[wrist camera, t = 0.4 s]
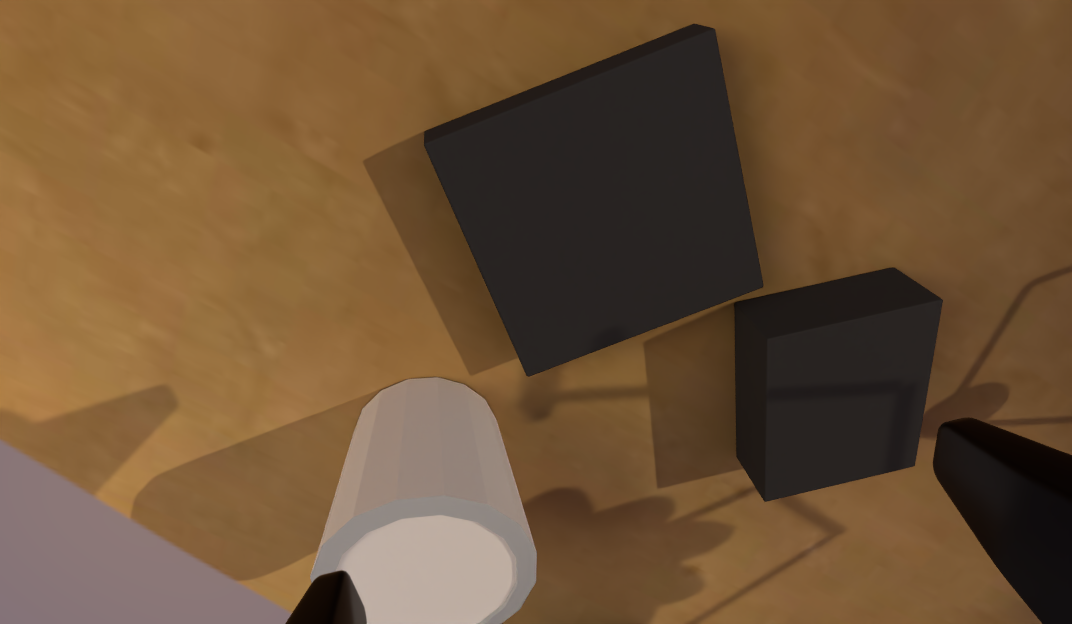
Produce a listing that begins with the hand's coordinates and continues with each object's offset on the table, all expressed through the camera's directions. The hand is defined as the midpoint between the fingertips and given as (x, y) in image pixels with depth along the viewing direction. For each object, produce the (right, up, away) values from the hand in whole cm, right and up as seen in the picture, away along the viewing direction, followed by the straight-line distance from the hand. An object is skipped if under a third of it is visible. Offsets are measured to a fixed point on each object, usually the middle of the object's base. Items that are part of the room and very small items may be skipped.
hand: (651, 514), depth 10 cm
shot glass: (-6, -2, +16) cm, 18 cm away
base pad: (0, +7, +13) cm, 14 cm away
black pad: (+10, +1, +18) cm, 20 cm away
